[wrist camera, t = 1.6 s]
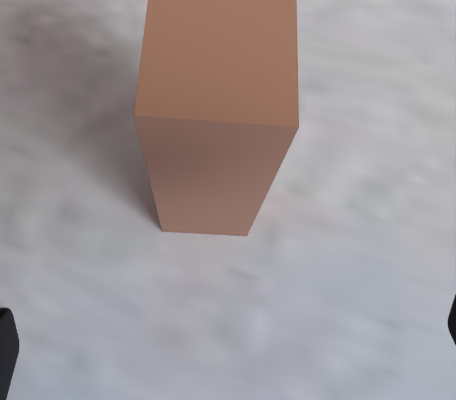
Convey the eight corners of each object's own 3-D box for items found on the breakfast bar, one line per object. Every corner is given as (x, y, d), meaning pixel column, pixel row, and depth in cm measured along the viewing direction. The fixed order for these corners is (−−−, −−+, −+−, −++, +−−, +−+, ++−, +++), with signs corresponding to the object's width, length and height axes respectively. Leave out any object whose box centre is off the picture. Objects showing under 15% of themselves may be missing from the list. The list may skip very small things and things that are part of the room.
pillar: (246, 236, 23) (298, 127, 12) (162, 231, 23) (133, 115, 12) (248, 159, 25) (296, -2, 14) (169, 153, 25) (150, -15, 13)
